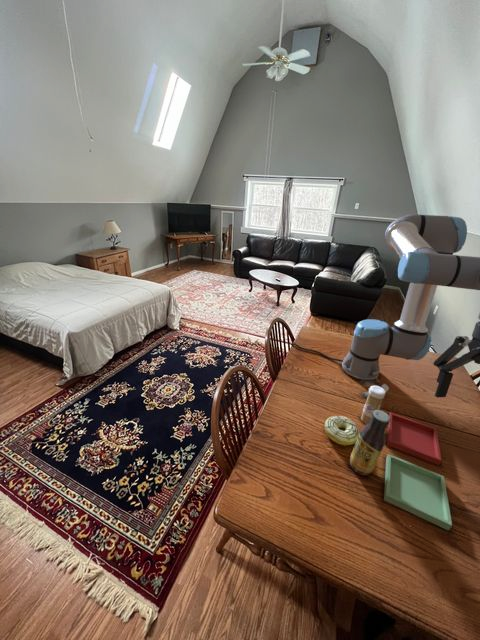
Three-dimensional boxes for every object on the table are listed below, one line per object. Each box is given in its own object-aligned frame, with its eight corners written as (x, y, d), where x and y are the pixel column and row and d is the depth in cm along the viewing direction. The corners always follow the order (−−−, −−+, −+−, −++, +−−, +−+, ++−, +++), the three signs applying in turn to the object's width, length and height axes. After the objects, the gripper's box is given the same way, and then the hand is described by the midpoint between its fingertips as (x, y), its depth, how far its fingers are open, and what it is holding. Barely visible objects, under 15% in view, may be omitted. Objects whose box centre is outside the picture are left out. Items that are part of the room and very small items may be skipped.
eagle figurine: (369, 381, 110) (354, 383, 105) (383, 374, 104) (368, 375, 100) (378, 399, 106) (363, 402, 101) (393, 393, 101) (378, 395, 96)
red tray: (386, 445, 83) (388, 440, 82) (388, 416, 94) (389, 412, 93) (439, 465, 77) (441, 460, 76) (434, 432, 88) (436, 428, 87)
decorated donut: (363, 434, 86) (366, 425, 84) (350, 455, 79) (353, 446, 77) (332, 416, 92) (335, 408, 91) (318, 434, 85) (320, 426, 83)
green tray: (383, 500, 67) (386, 495, 66) (386, 458, 78) (388, 453, 77) (448, 530, 62) (452, 525, 61) (441, 481, 73) (444, 476, 72)
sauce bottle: (344, 461, 77) (360, 408, 68) (360, 454, 79) (378, 402, 71) (361, 481, 72) (381, 427, 63) (378, 473, 74) (400, 420, 65)
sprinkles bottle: (358, 420, 91) (368, 389, 85) (362, 413, 94) (372, 382, 89) (372, 428, 89) (383, 396, 83) (376, 420, 92) (387, 389, 86)
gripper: (432, 309, 67) (409, 385, 72) (570, 347, 43) (521, 455, 49) (455, 310, 68) (431, 384, 74) (600, 347, 45) (549, 451, 51)
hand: (467, 412), depth 62 cm, fingers open, 13 cm apart
